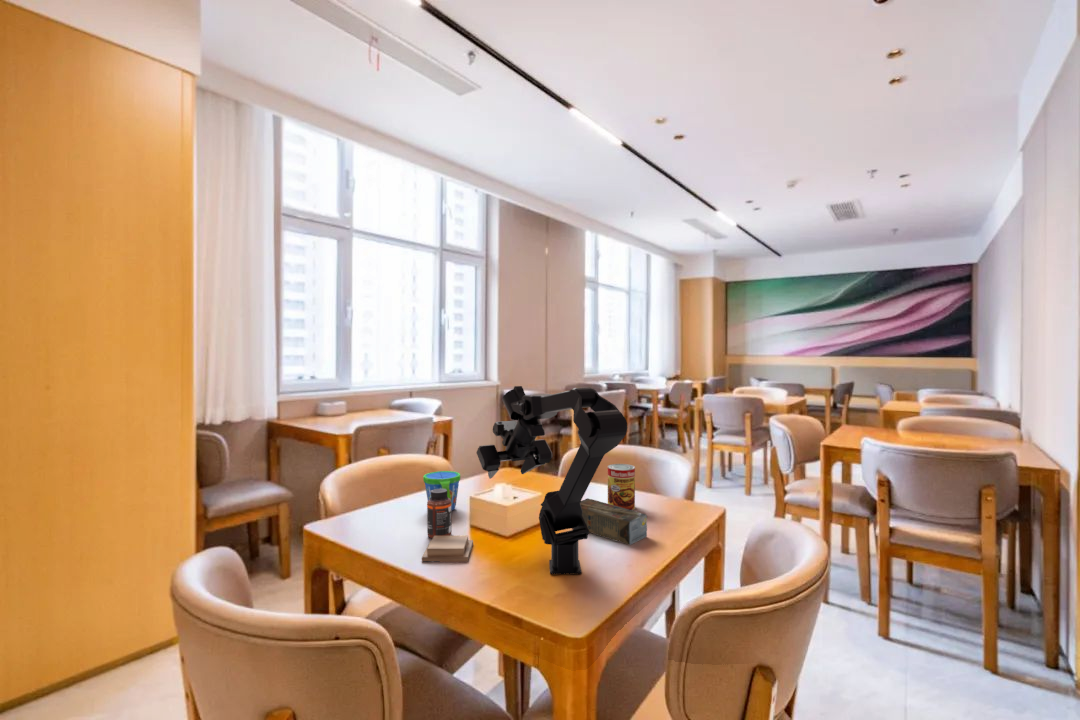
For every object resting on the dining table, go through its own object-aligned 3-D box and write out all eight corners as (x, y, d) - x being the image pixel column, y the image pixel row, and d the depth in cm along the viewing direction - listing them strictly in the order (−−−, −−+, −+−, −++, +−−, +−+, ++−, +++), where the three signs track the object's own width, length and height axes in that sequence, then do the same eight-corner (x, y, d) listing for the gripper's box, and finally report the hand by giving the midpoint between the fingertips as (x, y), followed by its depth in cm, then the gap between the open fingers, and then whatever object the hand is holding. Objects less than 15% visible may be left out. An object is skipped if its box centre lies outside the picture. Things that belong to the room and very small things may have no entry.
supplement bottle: (456, 535, 130) (456, 489, 129) (437, 541, 125) (437, 495, 125) (441, 529, 134) (441, 485, 133) (422, 536, 129) (422, 490, 129)
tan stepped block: (467, 561, 113) (467, 550, 113) (421, 561, 113) (421, 550, 113) (473, 544, 123) (473, 533, 123) (430, 544, 123) (430, 534, 123)
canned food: (613, 512, 147) (613, 470, 147) (603, 504, 155) (603, 464, 155) (639, 510, 149) (639, 468, 149) (628, 502, 157) (628, 463, 156)
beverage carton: (629, 546, 122) (629, 518, 122) (567, 527, 136) (567, 502, 136) (648, 537, 128) (648, 511, 128) (587, 520, 141) (587, 496, 141)
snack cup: (423, 503, 157) (423, 469, 157) (458, 500, 159) (458, 467, 159) (423, 519, 142) (423, 482, 141) (462, 516, 144) (462, 480, 144)
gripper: (545, 408, 135) (526, 447, 144) (478, 412, 125) (462, 454, 134) (562, 441, 127) (541, 480, 136) (492, 448, 118) (475, 489, 127)
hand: (505, 474), depth 134 cm, fingers open, 9 cm apart
